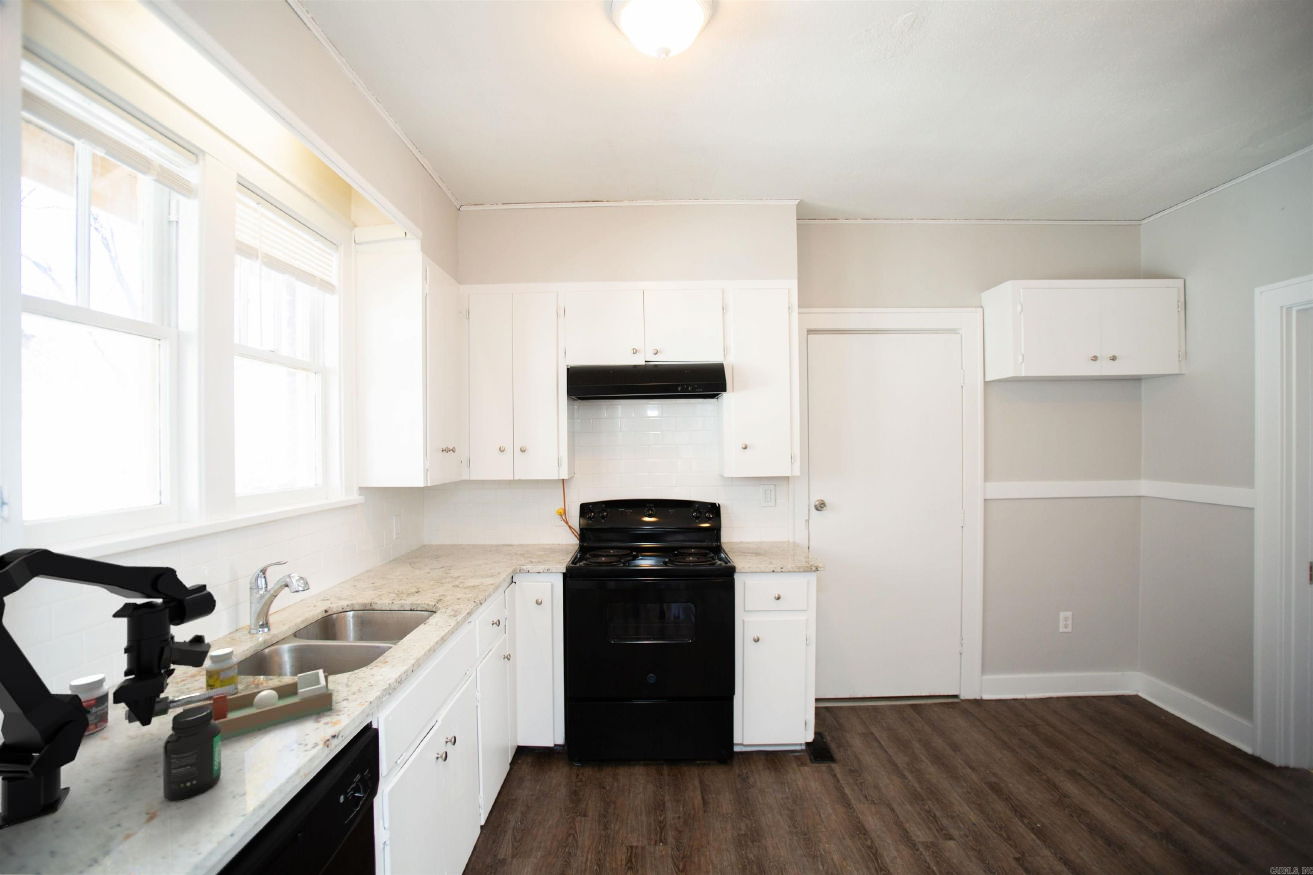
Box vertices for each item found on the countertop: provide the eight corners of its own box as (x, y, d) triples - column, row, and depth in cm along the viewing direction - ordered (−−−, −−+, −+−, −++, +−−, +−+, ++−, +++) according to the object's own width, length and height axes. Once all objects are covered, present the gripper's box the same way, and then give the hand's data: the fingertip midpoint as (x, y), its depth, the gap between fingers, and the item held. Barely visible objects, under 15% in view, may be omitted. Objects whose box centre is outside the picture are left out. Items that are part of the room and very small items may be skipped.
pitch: (332, 709, 105) (332, 692, 105) (173, 753, 90) (173, 733, 90) (327, 688, 114) (327, 672, 114) (183, 725, 100) (183, 707, 100)
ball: (278, 711, 103) (278, 691, 103) (253, 717, 100) (252, 697, 100) (278, 703, 106) (278, 684, 106) (253, 709, 103) (253, 690, 103)
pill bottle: (78, 739, 95) (78, 687, 96) (56, 737, 97) (56, 685, 97) (116, 723, 101) (116, 673, 101) (94, 721, 102) (95, 671, 102)
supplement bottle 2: (241, 692, 113) (241, 649, 114) (212, 702, 109) (211, 658, 109) (231, 686, 116) (231, 645, 116) (201, 697, 111) (201, 653, 112)
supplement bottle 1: (231, 777, 83) (231, 704, 83) (183, 806, 77) (182, 726, 77) (201, 771, 85) (201, 699, 85) (151, 798, 78) (152, 721, 79)
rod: (233, 719, 98) (233, 684, 99) (123, 748, 89) (123, 710, 89) (234, 711, 102) (234, 677, 102) (128, 738, 93) (128, 701, 93)
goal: (326, 704, 105) (326, 684, 105) (299, 711, 102) (299, 691, 102) (322, 686, 113) (322, 668, 113) (297, 693, 110) (297, 674, 110)
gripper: (201, 638, 91) (201, 726, 90) (212, 613, 105) (212, 688, 105) (112, 655, 84) (111, 750, 83) (136, 625, 99) (136, 705, 98)
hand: (149, 720), depth 93 cm, fingers open, 4 cm apart
